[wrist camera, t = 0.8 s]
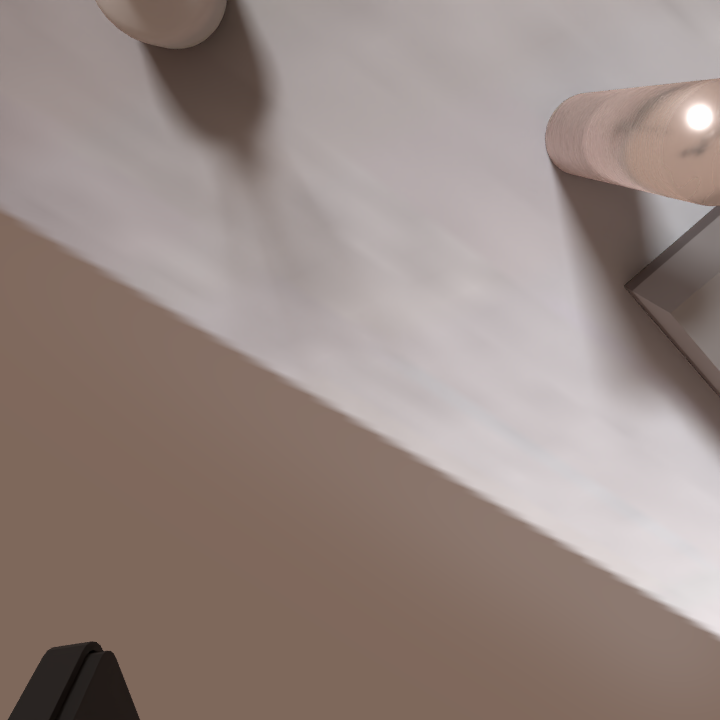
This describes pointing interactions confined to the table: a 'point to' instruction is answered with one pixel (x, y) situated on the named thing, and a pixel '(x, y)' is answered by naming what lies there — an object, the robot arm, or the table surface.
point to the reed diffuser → (165, 20)
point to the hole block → (687, 295)
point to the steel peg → (643, 139)
